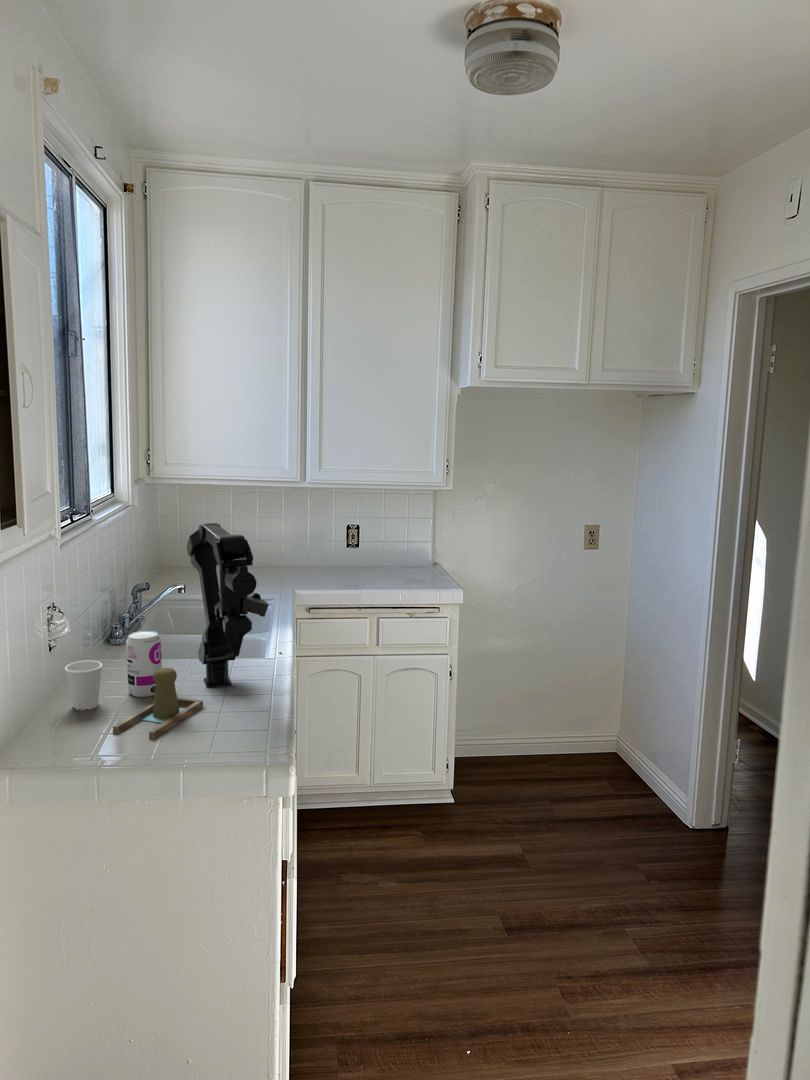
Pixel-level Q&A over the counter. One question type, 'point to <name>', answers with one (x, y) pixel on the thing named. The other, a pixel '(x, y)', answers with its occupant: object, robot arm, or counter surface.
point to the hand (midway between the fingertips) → (233, 650)
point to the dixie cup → (84, 683)
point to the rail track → (147, 715)
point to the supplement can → (143, 662)
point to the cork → (165, 694)
